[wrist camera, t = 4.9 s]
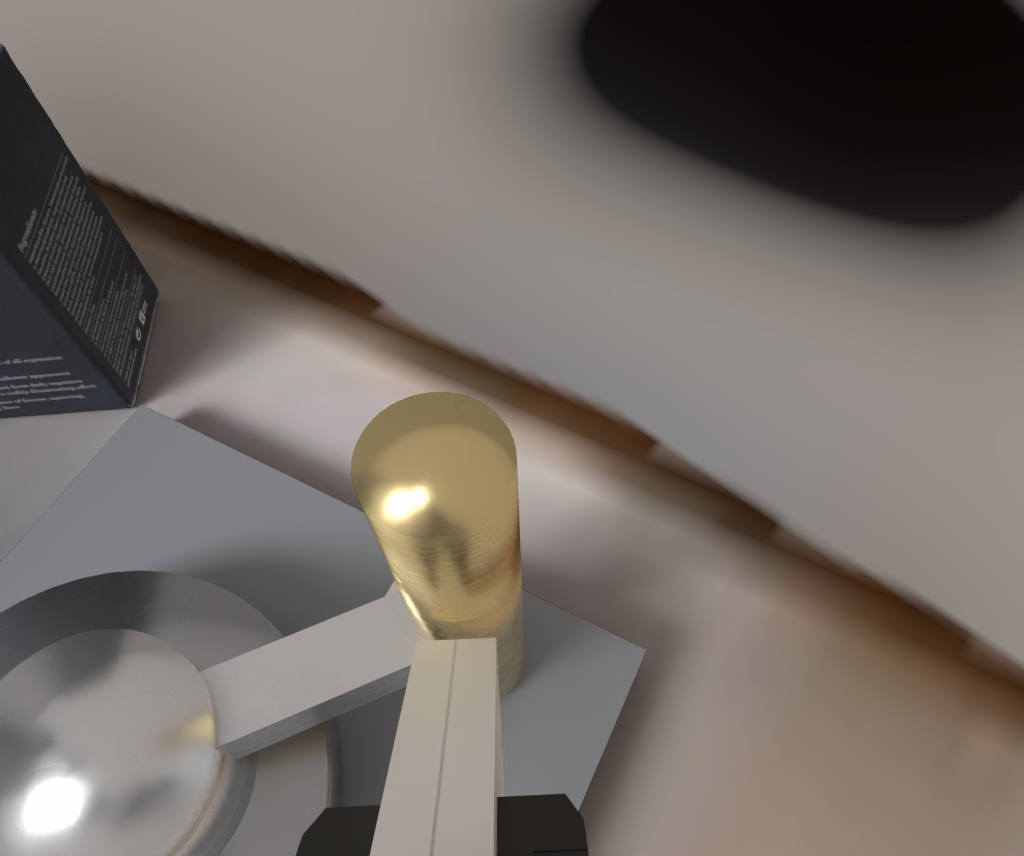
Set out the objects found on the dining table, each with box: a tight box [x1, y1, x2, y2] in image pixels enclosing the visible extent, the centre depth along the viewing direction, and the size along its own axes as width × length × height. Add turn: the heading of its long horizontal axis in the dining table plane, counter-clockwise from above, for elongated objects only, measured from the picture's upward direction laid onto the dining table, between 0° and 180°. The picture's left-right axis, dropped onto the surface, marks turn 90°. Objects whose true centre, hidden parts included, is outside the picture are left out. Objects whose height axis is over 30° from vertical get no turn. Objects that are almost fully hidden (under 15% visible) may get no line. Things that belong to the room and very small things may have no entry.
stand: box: [0, 404, 646, 811], centre depth 20 cm, size 18×17×2 cm
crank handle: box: [0, 392, 525, 856], centre depth 15 cm, size 16×11×11 cm
